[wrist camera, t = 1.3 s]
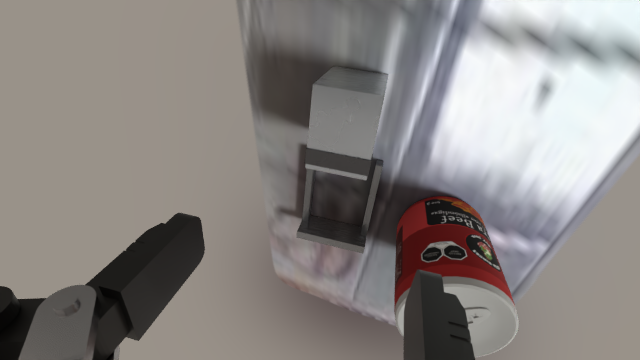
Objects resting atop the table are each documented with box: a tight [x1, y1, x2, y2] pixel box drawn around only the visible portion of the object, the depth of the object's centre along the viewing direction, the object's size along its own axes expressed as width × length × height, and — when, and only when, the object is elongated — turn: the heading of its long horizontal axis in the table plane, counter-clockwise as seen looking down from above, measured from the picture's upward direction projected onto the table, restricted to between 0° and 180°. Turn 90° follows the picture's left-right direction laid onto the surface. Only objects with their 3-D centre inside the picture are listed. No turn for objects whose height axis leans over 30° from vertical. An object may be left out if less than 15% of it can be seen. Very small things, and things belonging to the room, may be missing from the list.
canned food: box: [394, 196, 519, 357], centre depth 26 cm, size 8×8×11 cm
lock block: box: [305, 66, 388, 180], centre depth 23 cm, size 6×5×7 cm
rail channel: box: [297, 160, 383, 253], centre depth 30 cm, size 9×7×3 cm
